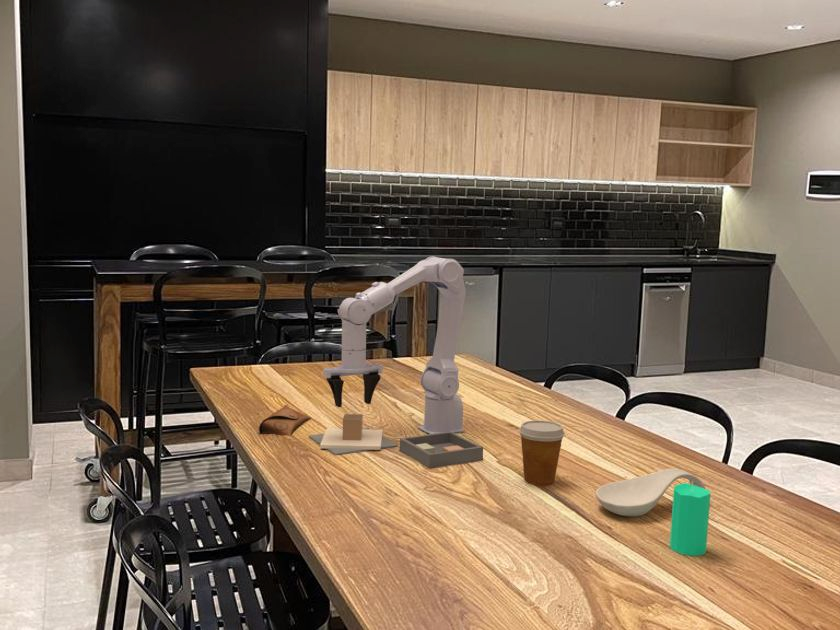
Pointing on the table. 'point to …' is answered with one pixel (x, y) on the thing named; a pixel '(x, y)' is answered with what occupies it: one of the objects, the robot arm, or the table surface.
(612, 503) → the spoon rest
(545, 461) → the disposable coffee cup
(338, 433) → the lid
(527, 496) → the table surface
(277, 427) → the sunglasses case
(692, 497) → the candle
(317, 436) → the slate mat
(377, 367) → the robot arm
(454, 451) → the storage box
